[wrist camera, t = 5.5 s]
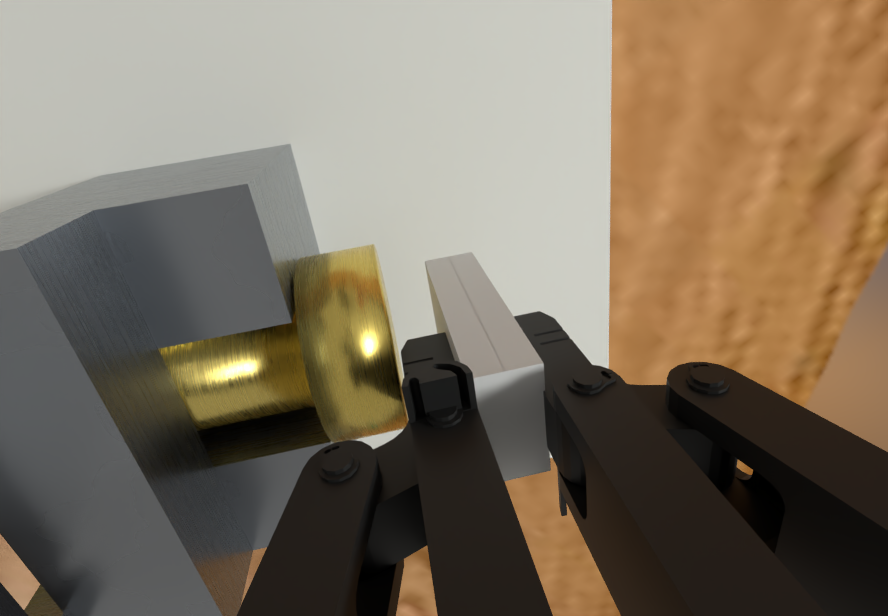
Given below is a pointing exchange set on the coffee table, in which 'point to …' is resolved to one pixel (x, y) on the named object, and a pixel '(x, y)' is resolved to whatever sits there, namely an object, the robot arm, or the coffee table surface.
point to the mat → (347, 127)
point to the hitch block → (144, 384)
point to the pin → (305, 356)
